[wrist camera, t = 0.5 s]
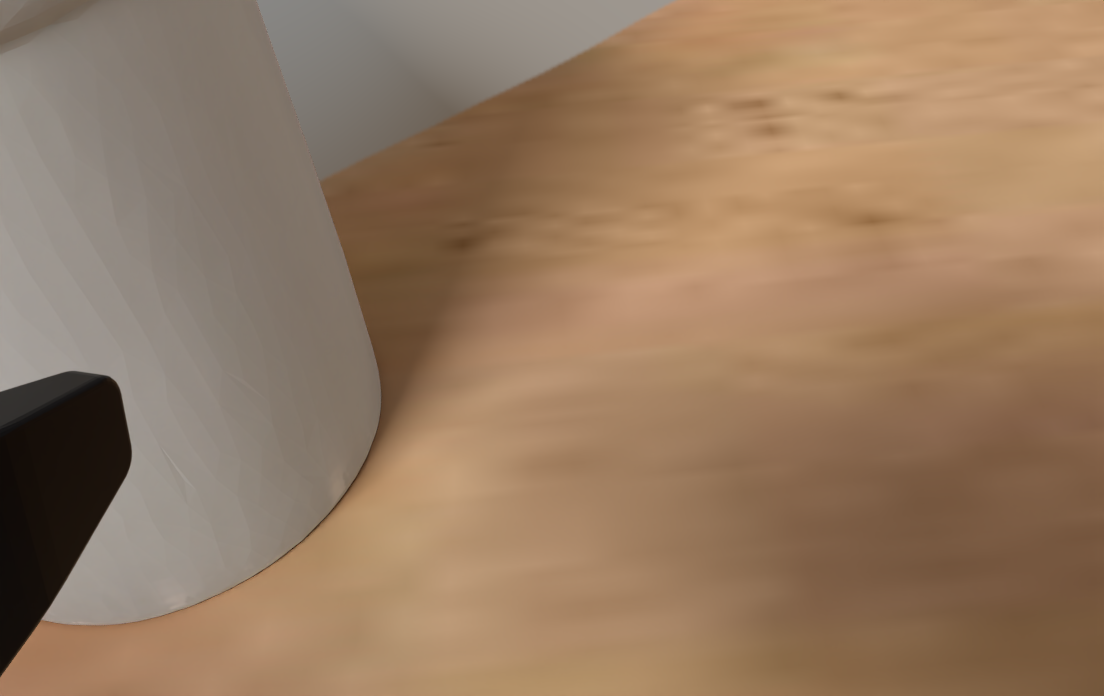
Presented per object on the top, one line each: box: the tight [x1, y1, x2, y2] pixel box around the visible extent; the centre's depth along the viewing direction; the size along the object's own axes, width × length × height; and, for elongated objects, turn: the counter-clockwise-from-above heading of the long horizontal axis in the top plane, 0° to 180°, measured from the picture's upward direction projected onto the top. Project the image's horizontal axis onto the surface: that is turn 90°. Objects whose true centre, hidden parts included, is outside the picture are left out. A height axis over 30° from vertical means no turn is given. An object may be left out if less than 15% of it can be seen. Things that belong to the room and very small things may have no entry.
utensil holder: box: [0, 0, 381, 625], centre depth 25 cm, size 15×15×18 cm
